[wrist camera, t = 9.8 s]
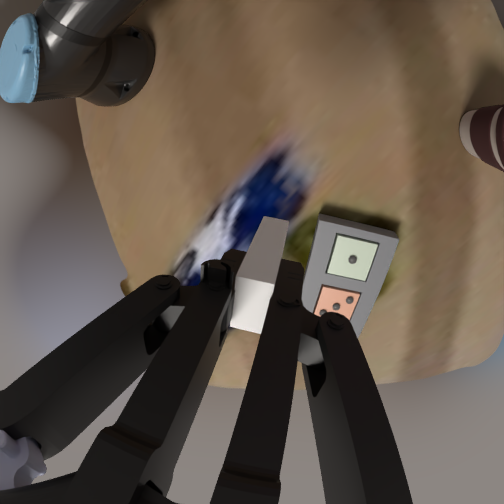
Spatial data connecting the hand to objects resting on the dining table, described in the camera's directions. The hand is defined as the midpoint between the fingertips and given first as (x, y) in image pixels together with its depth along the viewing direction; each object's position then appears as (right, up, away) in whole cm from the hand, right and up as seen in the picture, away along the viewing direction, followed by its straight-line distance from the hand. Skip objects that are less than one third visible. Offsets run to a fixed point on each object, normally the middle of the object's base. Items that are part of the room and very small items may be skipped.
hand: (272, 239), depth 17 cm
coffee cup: (+32, +17, +11) cm, 38 cm away
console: (+13, -8, +28) cm, 31 cm away
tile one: (+14, -1, +23) cm, 27 cm away
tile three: (+13, -8, +27) cm, 31 cm away
